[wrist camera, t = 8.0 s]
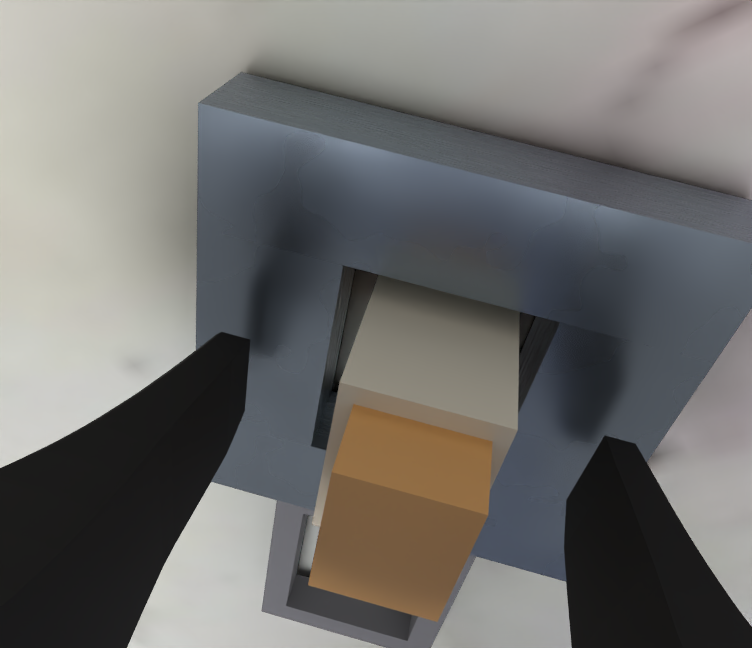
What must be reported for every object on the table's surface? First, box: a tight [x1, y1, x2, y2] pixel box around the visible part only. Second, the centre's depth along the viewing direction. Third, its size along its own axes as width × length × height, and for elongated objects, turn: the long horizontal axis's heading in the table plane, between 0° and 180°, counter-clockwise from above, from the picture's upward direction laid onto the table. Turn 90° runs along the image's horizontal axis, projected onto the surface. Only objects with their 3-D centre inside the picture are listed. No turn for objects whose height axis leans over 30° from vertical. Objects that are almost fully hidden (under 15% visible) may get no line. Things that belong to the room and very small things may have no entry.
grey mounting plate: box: [262, 500, 476, 648], centre depth 20 cm, size 6×7×1 cm
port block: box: [196, 72, 752, 581], centre depth 14 cm, size 10×10×2 cm
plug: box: [308, 275, 520, 622], centre depth 13 cm, size 3×4×6 cm
